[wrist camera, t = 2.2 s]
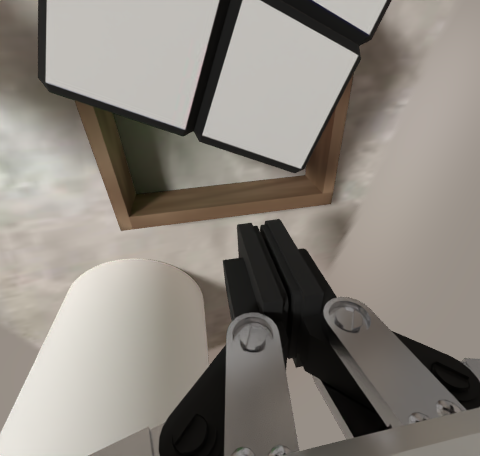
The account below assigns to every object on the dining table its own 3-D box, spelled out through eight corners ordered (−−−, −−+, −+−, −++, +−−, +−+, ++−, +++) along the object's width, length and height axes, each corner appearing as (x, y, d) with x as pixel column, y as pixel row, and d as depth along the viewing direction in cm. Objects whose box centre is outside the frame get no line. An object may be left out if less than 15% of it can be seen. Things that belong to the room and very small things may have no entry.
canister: (85, 353, 30) (-29, 707, 14) (46, 263, 23) (-292, 788, 7) (204, 339, 33) (225, 626, 16) (203, 254, 25) (239, 620, 9)
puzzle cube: (321, -50, 15) (484, -168, 7) (254, 125, 20) (304, 178, 12) (135, -177, 12) (27, -702, 4) (107, 70, 16) (33, 91, 8)
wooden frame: (0, -203, 11) (-67, -295, 8) (358, -181, 13) (409, -248, 10) (129, 206, 21) (121, 230, 19) (312, 184, 23) (330, 203, 20)
